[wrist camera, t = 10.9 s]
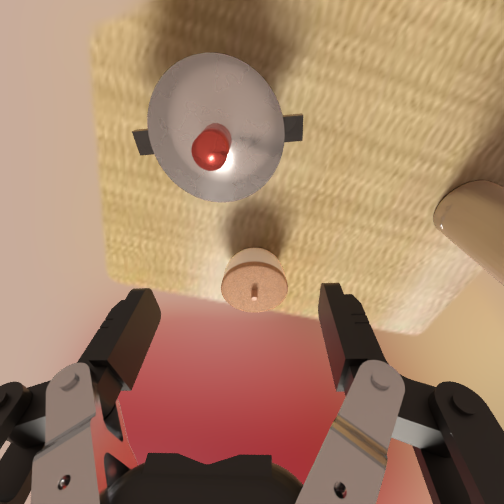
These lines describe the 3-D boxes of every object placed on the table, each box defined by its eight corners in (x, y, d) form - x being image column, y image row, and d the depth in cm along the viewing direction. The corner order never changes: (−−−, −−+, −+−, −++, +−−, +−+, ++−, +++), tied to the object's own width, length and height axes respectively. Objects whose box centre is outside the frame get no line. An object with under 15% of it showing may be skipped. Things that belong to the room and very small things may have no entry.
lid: (283, 47, 21) (293, 38, 16) (282, 192, 29) (288, 219, 24) (134, 60, 22) (94, 56, 17) (173, 199, 30) (154, 227, 25)
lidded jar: (232, 284, 49) (229, 323, 41) (219, 241, 42) (211, 278, 35) (286, 278, 47) (292, 317, 40) (279, 232, 41) (285, 268, 34)
